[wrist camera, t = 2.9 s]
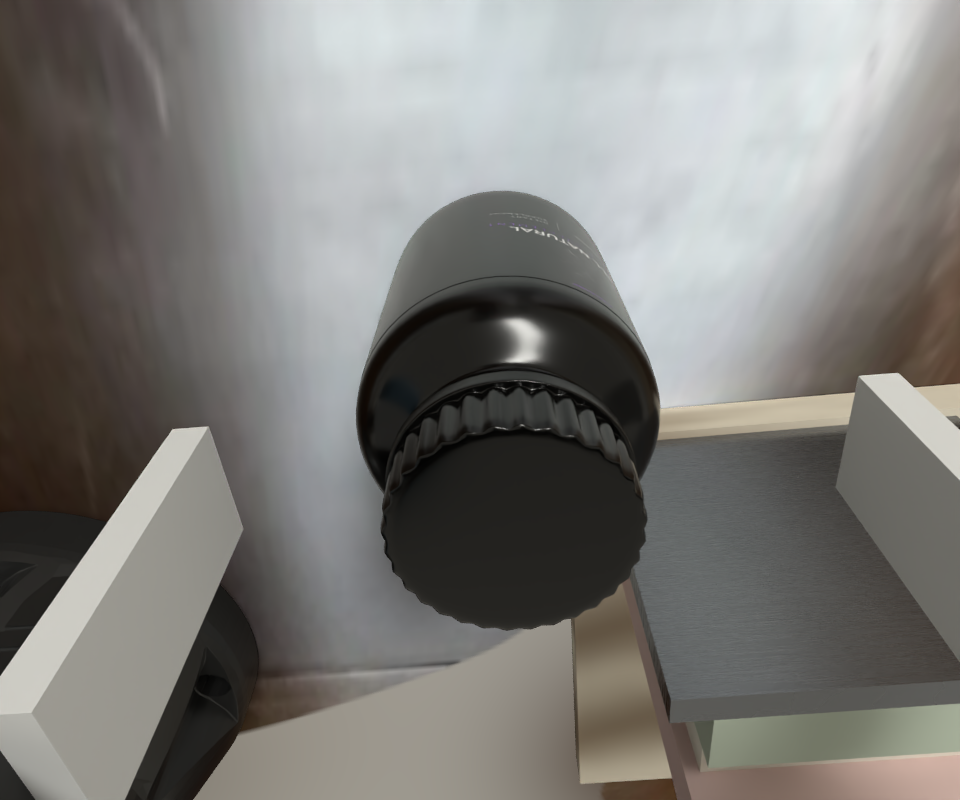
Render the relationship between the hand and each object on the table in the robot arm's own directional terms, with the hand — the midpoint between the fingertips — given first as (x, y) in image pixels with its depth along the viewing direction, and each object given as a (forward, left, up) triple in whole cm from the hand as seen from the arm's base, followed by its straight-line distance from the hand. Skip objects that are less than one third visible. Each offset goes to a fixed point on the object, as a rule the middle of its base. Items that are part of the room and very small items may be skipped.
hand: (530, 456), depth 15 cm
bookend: (+2, -10, -8) cm, 13 cm away
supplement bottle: (0, 0, -10) cm, 10 cm away
